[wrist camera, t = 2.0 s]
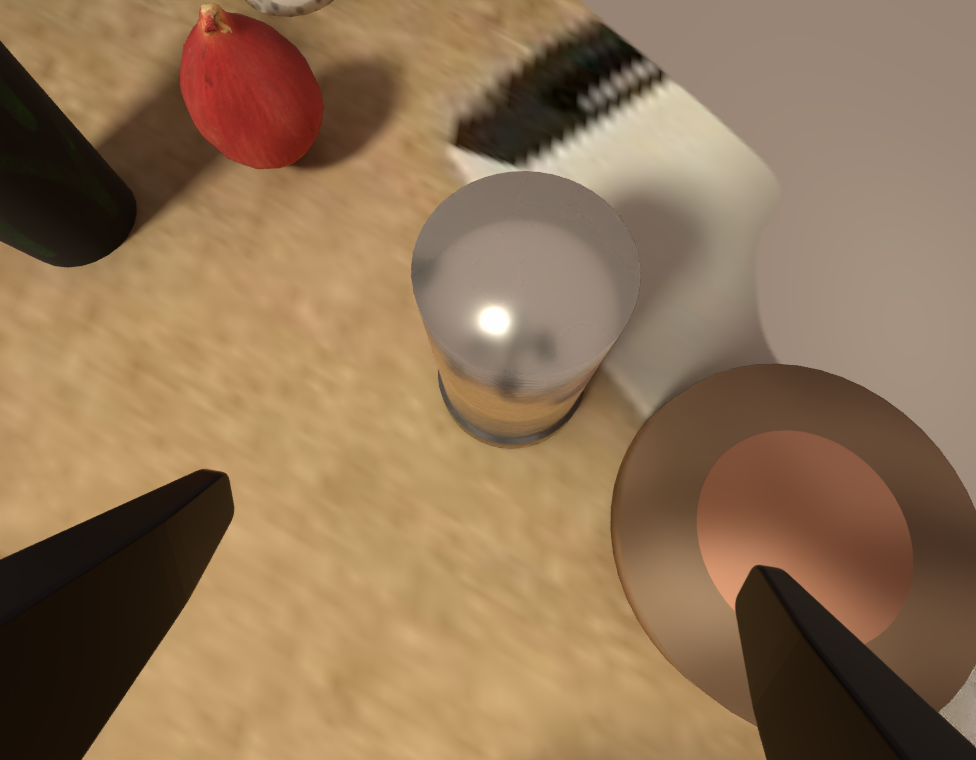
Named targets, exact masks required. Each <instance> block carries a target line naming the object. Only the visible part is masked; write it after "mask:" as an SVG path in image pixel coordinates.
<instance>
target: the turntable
mask: <svg viewBox="0 0 976 760" xmlns="http://www.w3.org/2000/svg"><path fill="white" fill-rule="evenodd" d="M611 539H612V548H613V555H614V559H615V563H616V568H617V572H618V576H619V579H620V581H621V584H622V587H623V590H624V592H625V595H626V598H627V600H628V602H629V604H630V606H631V608H632V610H633V612H634V614H635V616H636V618H637V620H638V621H639V623H640V624H641V626H642V628H643V629H644V631H645V632H646V634H647V635H648V637H649V638H650V640H651V641H652V642H653V644H654V645H655V646H656V647H657V648H658V650H659V651H660V652H661V653H662V654H663V656H664V657H665V658H666V659H667V660H668V661H669V662H670V663H671V664H672V665H673V666H674V667H675V668H676V669H677V670H678V671H679V672H680V673H681V674H682V675H683V676H684V677H685V678H687V679H688V680H689V681H690V682H692V683H693V684H694V685H696V686H697V687H698V688H700V689H701V690H702V691H704V692H705V693H706V694H707V695H709V696H710V697H712V698H713V699H714V700H716V701H717V702H718V703H720V704H721V705H722V706H724V707H725V708H726V709H728V710H729V711H730V712H732V713H734V714H736V715H737V716H739V717H741V718H743V719H745V720H746V721H748V722H750V723H752V724H753V725H755V726H757V723H756V719H755V715H754V712H753V707H752V702H751V698H750V693H749V687H748V681H747V676H746V670H745V664H744V659H743V653H742V647H741V641H740V636H739V630H738V624H737V619H736V613H735V601H736V597H737V595H738V593H739V591H740V589H741V587H742V585H743V583H744V581H745V580H746V578H747V576H748V574H749V572H750V570H751V569H752V567H754V566H755V565H765V566H771V567H776V568H780V569H783V570H784V571H786V572H787V573H788V574H789V575H790V576H791V577H792V578H793V579H795V580H796V581H797V582H798V583H799V584H800V585H801V586H802V587H803V588H804V589H805V590H806V591H807V592H809V593H810V594H811V595H812V596H813V597H814V598H815V599H816V600H817V601H818V602H819V603H820V604H822V605H823V606H824V607H825V608H826V609H827V610H828V611H829V612H830V613H831V614H832V615H833V616H834V617H836V618H837V619H838V620H839V621H840V622H841V623H842V624H843V625H844V626H845V627H846V628H847V629H849V630H850V631H851V632H852V633H853V634H854V635H855V636H856V637H857V638H858V639H859V640H860V641H861V642H863V643H864V644H865V645H866V646H867V647H868V648H869V649H870V650H871V651H872V652H873V653H874V654H876V655H877V656H878V657H879V658H880V659H881V660H882V661H883V662H884V663H885V664H886V665H887V666H888V667H890V668H891V669H892V670H893V671H894V672H895V673H896V674H897V675H898V676H899V677H900V678H901V679H903V680H904V681H905V682H906V683H907V684H908V685H909V686H910V687H911V688H912V689H913V690H914V691H915V692H917V693H918V694H919V695H920V696H921V697H922V698H923V699H924V700H925V701H926V702H927V703H928V704H930V705H931V706H932V707H933V708H934V709H935V710H936V711H937V712H939V711H940V710H941V709H942V708H943V707H944V706H946V705H947V704H948V703H949V702H950V701H951V700H952V698H953V697H954V696H955V695H956V694H957V692H958V691H959V690H960V689H961V687H962V686H963V685H964V684H965V682H966V680H967V679H968V677H969V675H970V673H971V671H972V670H973V668H974V666H975V664H976V510H975V508H974V506H973V503H972V501H971V499H970V497H969V495H968V492H967V490H966V489H965V487H964V485H963V484H962V482H961V480H960V479H959V477H958V475H957V473H956V471H955V470H954V468H953V467H952V466H951V464H950V463H949V462H948V460H947V459H946V457H945V456H944V455H943V453H942V452H941V451H940V449H939V448H938V447H937V446H936V445H935V444H934V442H933V441H932V440H931V439H930V438H929V437H928V436H927V435H926V434H925V433H924V431H923V430H922V429H921V428H919V427H918V426H917V425H916V424H915V423H914V422H913V421H912V420H911V419H909V418H908V417H907V416H906V415H905V414H904V413H902V412H901V411H900V410H898V409H897V408H896V407H894V406H893V405H892V404H890V403H889V402H888V401H886V400H885V399H883V398H882V397H880V396H878V395H876V394H875V393H873V392H871V391H870V390H868V389H866V388H865V387H862V386H860V385H858V384H856V383H854V382H851V381H849V380H847V379H845V378H843V377H840V376H837V375H834V374H830V373H828V372H824V371H821V370H817V369H812V368H807V367H802V366H797V365H784V364H760V365H751V366H745V367H739V368H734V369H731V370H727V371H724V372H721V373H718V374H715V375H713V376H711V377H708V378H706V379H704V380H702V381H700V382H698V383H696V384H694V385H693V386H691V387H690V388H688V389H687V390H685V391H684V392H682V393H681V394H679V395H678V396H677V397H675V398H674V399H672V400H671V401H670V402H668V403H667V404H665V405H664V406H663V407H662V408H661V409H660V410H658V411H657V412H656V413H655V414H654V415H653V416H652V417H651V418H650V419H649V420H648V421H647V422H646V423H645V425H644V426H643V427H642V428H641V429H640V430H639V432H638V433H637V435H636V436H635V438H634V440H633V441H632V443H631V444H630V446H629V448H628V449H627V452H626V454H625V456H624V458H623V461H622V463H621V465H620V468H619V471H618V474H617V478H616V481H615V485H614V490H613V497H612V504H611Z"/></svg>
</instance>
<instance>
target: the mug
mask: <svg viewBox="0 0 976 760" xmlns="http://www.w3.org/2000/svg"><path fill="white" fill-rule="evenodd" d="M246 1H247V2H248V3H249V4H250V5H251V6H252V7H254V8H255V9H257V10H259V11H261V12H263V13H266V14H269V15H274V16H285V17H292V16H299V15H305V14H308V13H311V12H314V11H317V10H319V9H321V8H323V7H325V6H327V5H328V4H330V3H331V2H332V1H334V0H246Z"/></svg>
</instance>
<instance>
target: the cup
mask: <svg viewBox="0 0 976 760" xmlns="http://www.w3.org/2000/svg"><path fill="white" fill-rule="evenodd" d="M135 217H136V201H135V198H134V196H133V193H132V191H131V190H130V189H129V188H128V186H127V185H126V184H125V183H124V182H123V181H122V179H121V178H120V177H119V176H118V175H117V174H116V173H115V171H114V170H113V169H112V168H111V167H110V166H109V165H108V163H107V162H106V161H105V160H104V159H103V158H102V157H101V155H100V154H99V153H98V152H97V151H96V150H95V149H94V147H93V146H92V145H91V144H90V143H89V142H88V141H87V139H86V138H85V137H84V136H83V135H82V134H81V133H80V131H79V130H78V129H77V128H76V127H75V126H74V125H73V123H72V122H71V121H70V120H69V119H68V118H67V117H66V115H65V114H64V113H63V112H62V111H61V110H60V109H59V107H58V106H57V105H56V104H55V103H54V102H53V101H52V99H51V98H50V97H49V96H48V95H47V94H46V93H45V91H44V90H43V89H42V88H41V87H40V86H39V84H38V83H37V82H36V81H35V80H34V79H33V78H32V76H31V75H30V74H29V73H28V72H27V71H26V70H25V68H24V67H23V66H22V65H21V64H20V63H19V62H18V60H17V59H16V58H15V57H14V56H13V55H12V54H11V52H10V51H9V50H8V49H7V48H6V47H5V46H4V44H3V43H2V42H1V41H0V241H1V242H3V243H5V244H8V245H10V246H12V247H14V248H16V249H18V250H20V251H22V252H24V253H26V254H28V255H30V256H32V257H35V258H37V259H39V260H41V261H43V262H45V263H48V264H51V265H53V266H60V267H76V266H83V265H86V264H89V263H92V262H95V261H97V260H99V259H101V258H103V257H105V256H107V255H108V254H110V253H111V252H112V251H113V250H115V249H116V248H117V247H118V246H119V245H120V244H121V243H122V242H123V241H124V240H125V238H126V237H127V236H128V234H129V232H130V231H131V229H132V227H133V225H134V221H135Z"/></svg>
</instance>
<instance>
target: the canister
mask: <svg viewBox="0 0 976 760" xmlns="http://www.w3.org/2000/svg"><path fill="white" fill-rule="evenodd" d="M411 278H412V285H413V292H414V295H415V298H416V302H417V305H418V308H419V311H420V314H421V317H422V320H423V323H424V326H425V330H426V333H427V336H428V339H429V342H430V345H431V348H432V351H433V354H434V357H435V360H436V363H437V366H438V380H439V386H440V390H441V394H442V397H443V400H444V402H445V405H446V407H447V409H448V411H449V413H450V415H451V416H452V418H453V419H454V421H455V422H456V423H457V424H458V425H459V426H460V427H461V428H462V429H463V430H464V431H465V432H466V433H467V434H469V435H470V436H472V437H473V438H475V439H477V440H479V441H481V442H483V443H485V444H488V445H491V446H495V447H500V448H523V447H529V446H532V445H535V444H538V443H540V442H542V441H545V440H547V439H548V438H550V437H551V436H553V435H554V434H556V433H557V432H558V431H559V430H560V429H561V428H562V427H563V426H564V425H565V424H566V423H567V422H568V420H569V419H570V417H571V416H572V414H573V413H574V411H575V410H576V409H577V407H578V405H579V403H580V400H581V398H582V395H583V392H584V388H585V386H586V385H587V383H588V382H589V380H590V379H591V377H592V376H593V374H594V373H595V371H596V370H597V368H598V367H599V365H600V364H601V362H602V361H603V359H604V358H605V356H606V355H607V353H608V352H609V350H610V349H611V347H612V346H613V344H614V342H615V341H616V339H617V338H618V336H619V335H620V333H621V332H622V330H623V329H624V327H625V326H626V324H627V323H628V321H629V319H630V317H631V315H632V313H633V311H634V309H635V306H636V302H637V299H638V296H639V290H640V283H641V268H640V261H639V255H638V252H637V248H636V245H635V242H634V240H633V238H632V235H631V233H630V231H629V229H628V228H627V226H626V225H625V223H624V221H623V220H622V218H621V217H620V216H619V215H618V214H617V212H616V211H615V210H614V209H613V208H612V207H611V206H610V205H609V204H608V203H607V202H606V201H605V200H604V199H602V198H601V197H600V196H598V195H597V194H596V193H594V192H593V191H591V190H589V189H588V188H586V187H584V186H582V185H581V184H578V183H576V182H574V181H571V180H569V179H566V178H563V177H560V176H556V175H552V174H547V173H541V172H530V171H519V172H507V173H500V174H496V175H492V176H488V177H484V178H482V179H479V180H477V181H474V182H472V183H470V184H468V185H466V186H464V187H462V188H460V189H459V190H457V191H456V192H455V193H453V194H452V195H450V196H449V197H448V198H447V199H445V200H444V201H443V202H442V203H441V204H440V205H439V206H438V207H437V208H436V209H435V211H434V212H433V213H432V214H431V215H430V217H429V218H428V220H427V221H426V223H425V224H424V226H423V228H422V230H421V232H420V234H419V236H418V238H417V241H416V245H415V248H414V251H413V258H412V268H411Z"/></svg>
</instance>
